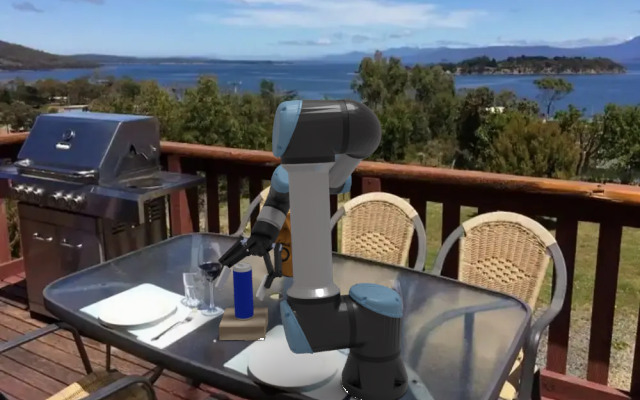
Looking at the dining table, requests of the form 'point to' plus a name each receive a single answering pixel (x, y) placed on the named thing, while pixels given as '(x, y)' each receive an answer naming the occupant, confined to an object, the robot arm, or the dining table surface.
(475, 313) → the dining table surface
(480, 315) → the dining table surface
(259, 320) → the oak block
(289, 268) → the coffee package
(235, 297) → the beverage can
